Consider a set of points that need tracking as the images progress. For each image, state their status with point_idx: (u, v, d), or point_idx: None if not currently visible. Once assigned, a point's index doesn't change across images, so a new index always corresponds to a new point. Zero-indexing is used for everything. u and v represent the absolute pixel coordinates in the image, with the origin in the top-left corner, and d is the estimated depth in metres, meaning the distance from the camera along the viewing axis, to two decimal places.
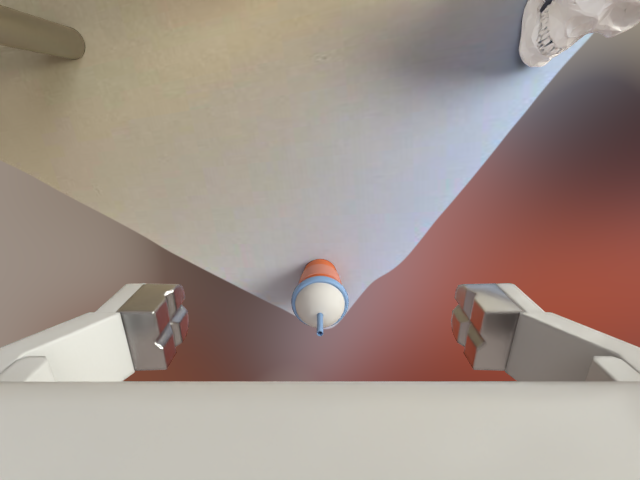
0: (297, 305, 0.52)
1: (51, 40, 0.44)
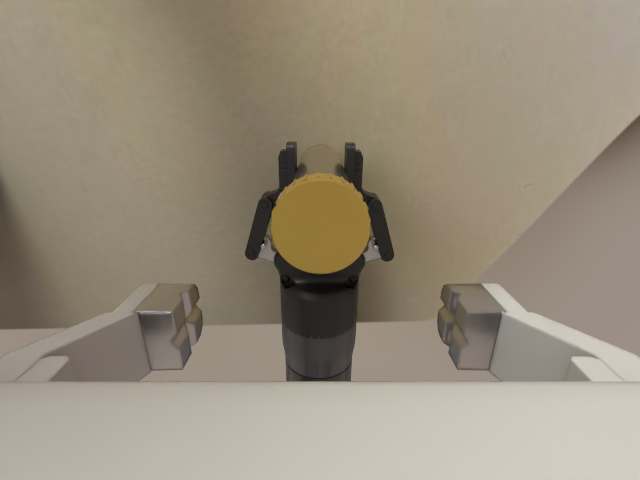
0: None
1: (330, 154, 0.28)
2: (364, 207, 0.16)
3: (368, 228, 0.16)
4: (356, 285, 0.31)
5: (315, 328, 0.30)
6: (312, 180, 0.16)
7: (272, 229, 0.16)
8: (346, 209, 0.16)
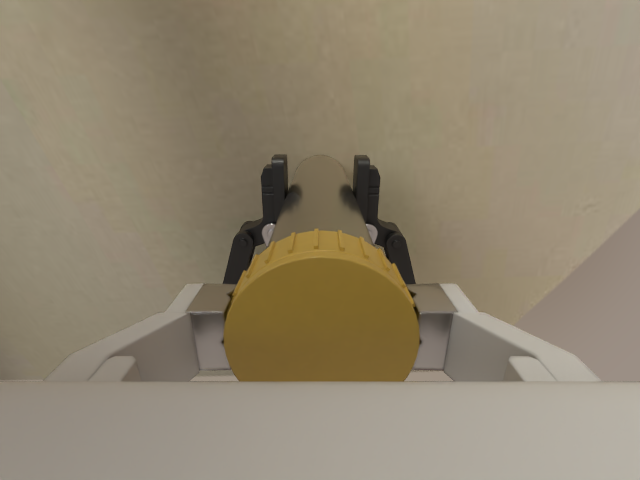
0: None
1: (334, 172, 0.20)
2: (410, 308, 0.08)
3: (415, 344, 0.08)
4: None
5: None
6: (304, 256, 0.08)
7: (226, 346, 0.08)
8: (374, 311, 0.08)
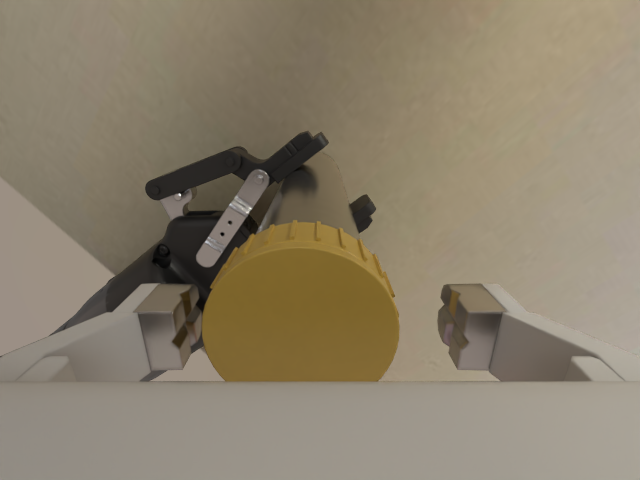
0: None
1: None
2: (354, 264, 0.08)
3: (384, 295, 0.08)
4: None
5: None
6: (232, 267, 0.08)
7: (222, 375, 0.09)
8: (324, 284, 0.08)
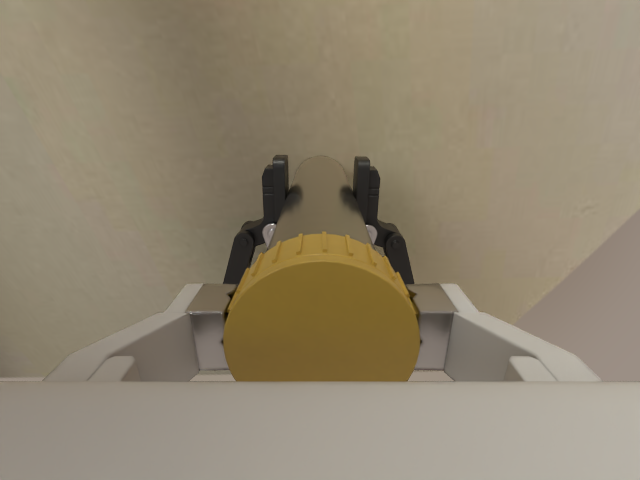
0: None
1: (334, 173, 0.20)
2: (285, 269, 0.07)
3: (334, 265, 0.07)
4: None
5: None
6: (225, 348, 0.08)
7: None
8: (286, 301, 0.08)
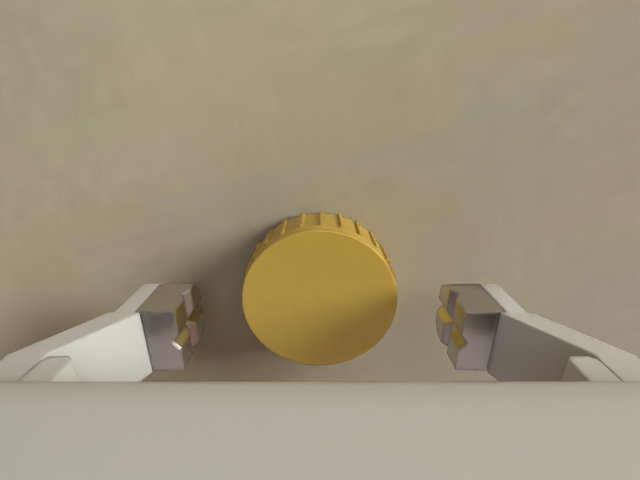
0: None
1: None
2: (291, 237, 0.10)
3: (328, 234, 0.10)
4: None
5: None
6: (243, 302, 0.11)
7: (309, 363, 0.11)
8: (291, 263, 0.10)
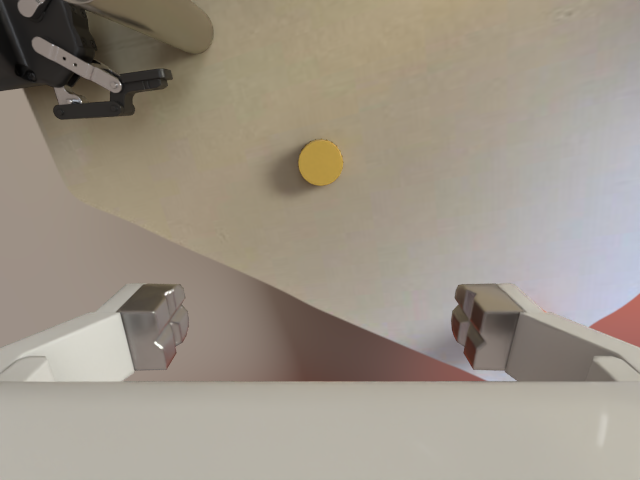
0: None
1: (188, 20, 0.28)
2: (313, 142, 0.36)
3: (323, 141, 0.36)
4: (25, 80, 0.29)
5: None
6: None
7: (317, 184, 0.38)
8: (313, 150, 0.36)
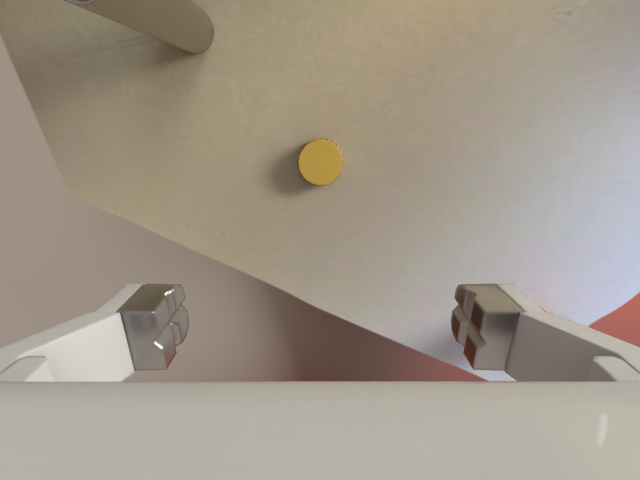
0: None
1: (189, 20, 0.28)
2: (313, 142, 0.36)
3: (323, 141, 0.36)
4: None
5: None
6: None
7: (317, 184, 0.38)
8: (313, 150, 0.36)
